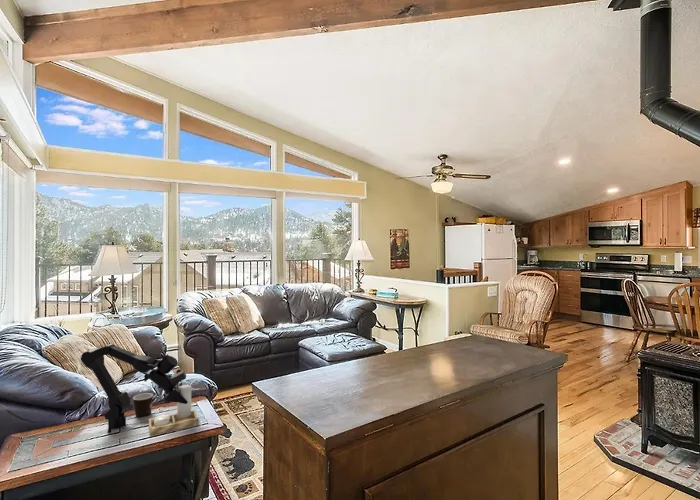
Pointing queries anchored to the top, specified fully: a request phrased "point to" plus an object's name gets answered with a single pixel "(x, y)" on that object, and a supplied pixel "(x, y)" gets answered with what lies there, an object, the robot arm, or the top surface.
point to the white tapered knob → (184, 409)
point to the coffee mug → (143, 404)
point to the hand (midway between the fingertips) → (187, 400)
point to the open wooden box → (174, 423)
